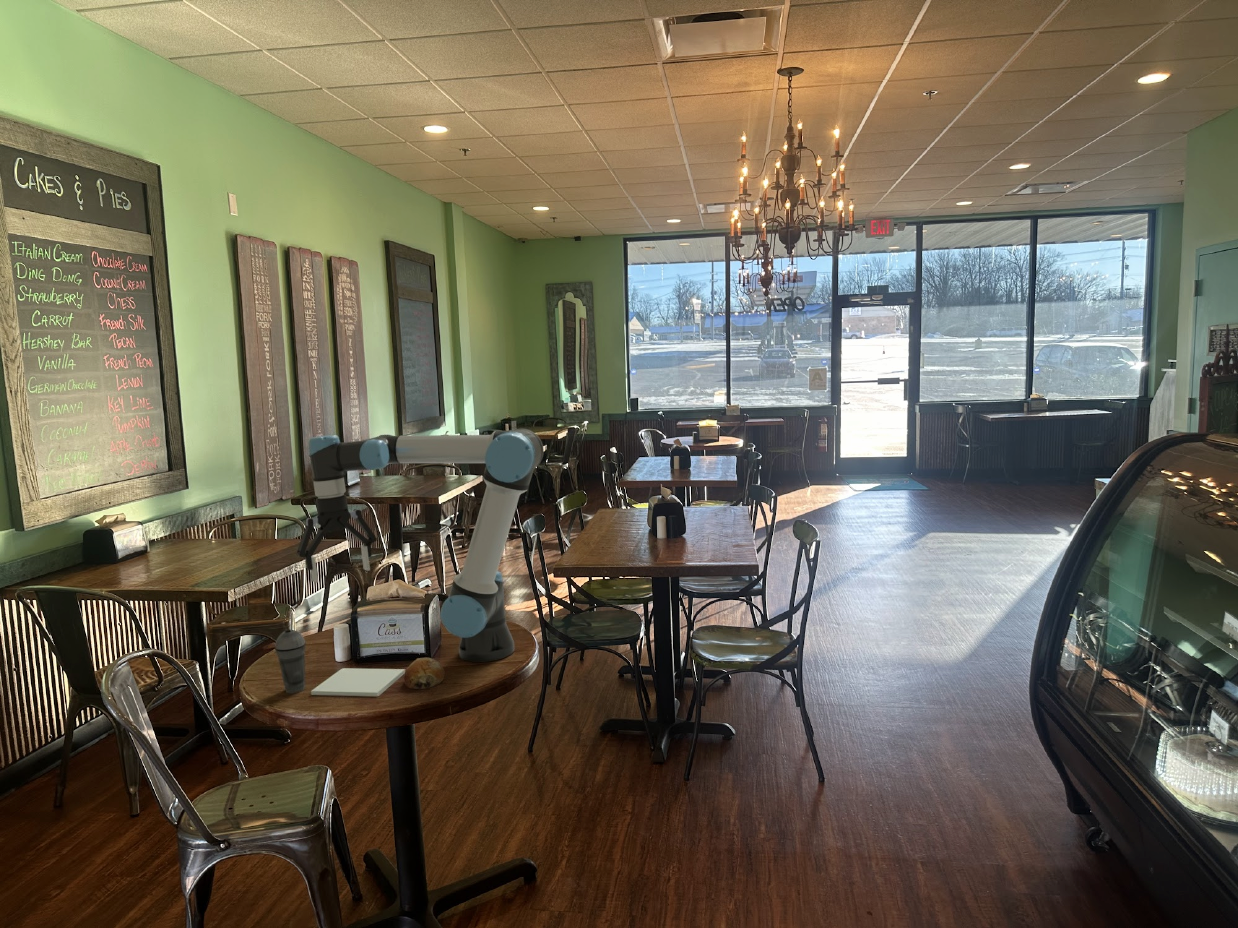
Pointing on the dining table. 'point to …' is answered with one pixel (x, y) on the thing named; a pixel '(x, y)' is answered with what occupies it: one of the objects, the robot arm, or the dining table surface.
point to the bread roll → (423, 673)
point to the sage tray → (358, 682)
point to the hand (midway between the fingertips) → (341, 575)
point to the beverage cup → (291, 659)
